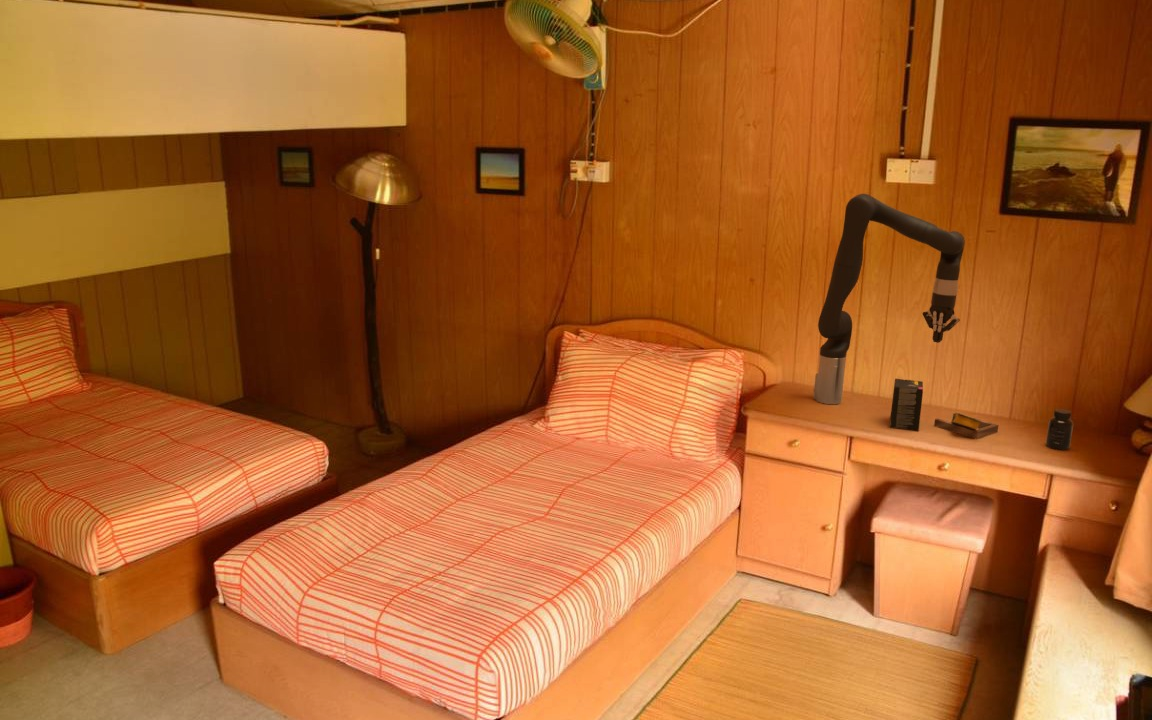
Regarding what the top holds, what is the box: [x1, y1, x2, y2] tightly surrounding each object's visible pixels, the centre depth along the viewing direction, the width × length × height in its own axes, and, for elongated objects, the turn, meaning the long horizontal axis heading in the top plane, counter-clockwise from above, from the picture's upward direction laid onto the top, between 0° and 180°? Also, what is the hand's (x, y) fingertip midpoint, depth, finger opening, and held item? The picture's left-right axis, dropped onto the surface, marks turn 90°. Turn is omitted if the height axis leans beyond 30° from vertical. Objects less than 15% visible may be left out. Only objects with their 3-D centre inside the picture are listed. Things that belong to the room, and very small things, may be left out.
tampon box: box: [889, 378, 924, 432], centre depth 308 cm, size 11×9×15 cm
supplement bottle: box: [1045, 408, 1074, 451], centre depth 291 cm, size 7×7×12 cm
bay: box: [933, 412, 999, 440], centre depth 307 cm, size 16×12×2 cm
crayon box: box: [951, 412, 981, 430], centre depth 302 cm, size 7×3×12 cm
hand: (937, 341), depth 311 cm, fingers closed
